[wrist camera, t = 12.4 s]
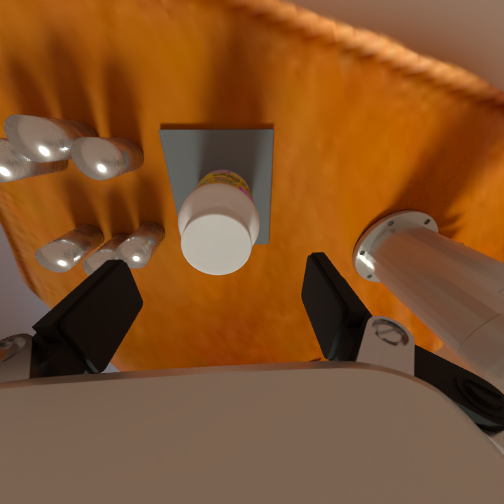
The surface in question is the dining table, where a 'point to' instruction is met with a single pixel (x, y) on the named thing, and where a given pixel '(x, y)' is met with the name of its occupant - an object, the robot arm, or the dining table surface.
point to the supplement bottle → (218, 223)
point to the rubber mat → (221, 163)
